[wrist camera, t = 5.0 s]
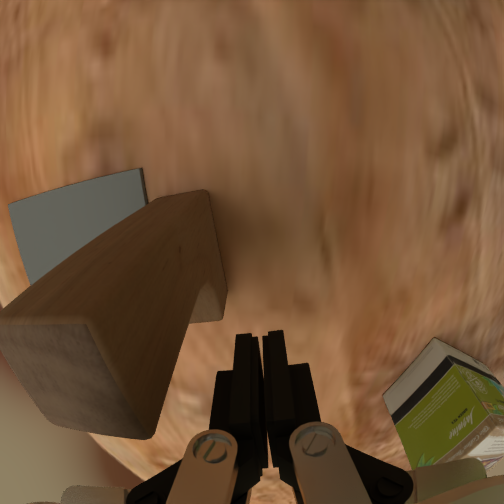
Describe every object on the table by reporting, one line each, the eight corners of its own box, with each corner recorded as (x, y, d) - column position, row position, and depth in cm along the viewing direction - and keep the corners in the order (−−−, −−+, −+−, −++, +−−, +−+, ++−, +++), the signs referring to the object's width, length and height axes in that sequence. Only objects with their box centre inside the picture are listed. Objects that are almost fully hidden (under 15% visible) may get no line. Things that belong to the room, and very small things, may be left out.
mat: (141, 167, 22) (139, 168, 21) (175, 321, 26) (173, 325, 26) (11, 203, 22) (7, 204, 22) (49, 323, 27) (47, 325, 27)
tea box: (485, 361, 30) (536, 429, 16) (441, 410, 33) (477, 481, 19) (433, 333, 27) (500, 428, 13) (378, 395, 30) (416, 494, 17)
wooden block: (228, 292, 25) (199, 499, 8) (179, 298, 26) (105, 485, 9) (208, 187, 22) (85, 321, 5) (153, 198, 22) (-19, 322, 6)
